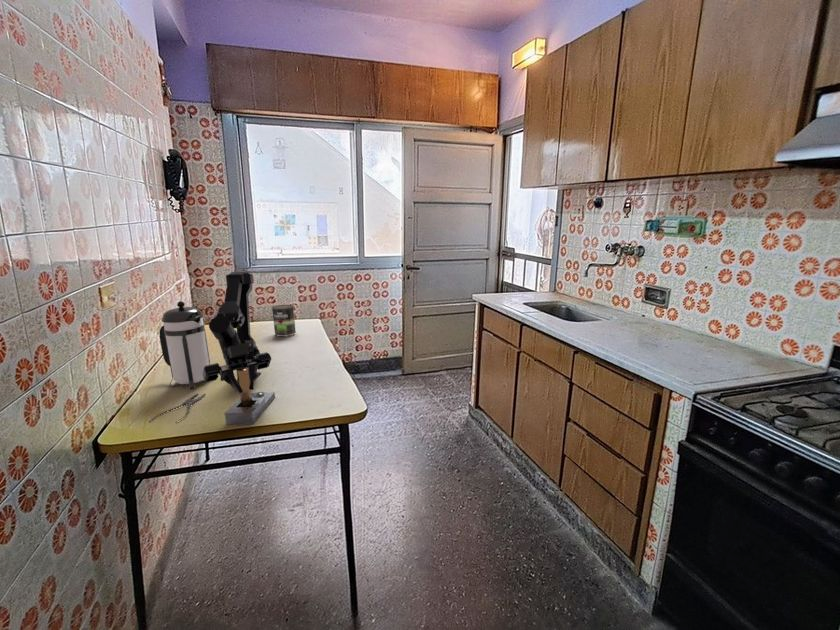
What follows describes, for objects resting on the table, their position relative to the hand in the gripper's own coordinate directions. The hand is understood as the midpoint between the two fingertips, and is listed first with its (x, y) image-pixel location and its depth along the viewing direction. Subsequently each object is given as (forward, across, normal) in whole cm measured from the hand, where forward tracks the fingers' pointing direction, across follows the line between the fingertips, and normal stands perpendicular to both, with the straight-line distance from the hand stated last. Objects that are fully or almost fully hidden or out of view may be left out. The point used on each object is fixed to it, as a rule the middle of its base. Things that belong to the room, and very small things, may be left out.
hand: (246, 391), depth 124 cm
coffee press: (-24, -9, +35) cm, 43 cm away
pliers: (-8, -16, +20) cm, 27 cm away
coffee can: (-50, +41, +62) cm, 90 cm away
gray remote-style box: (+3, +2, +8) cm, 9 cm away
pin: (+4, 0, +6) cm, 7 cm away
